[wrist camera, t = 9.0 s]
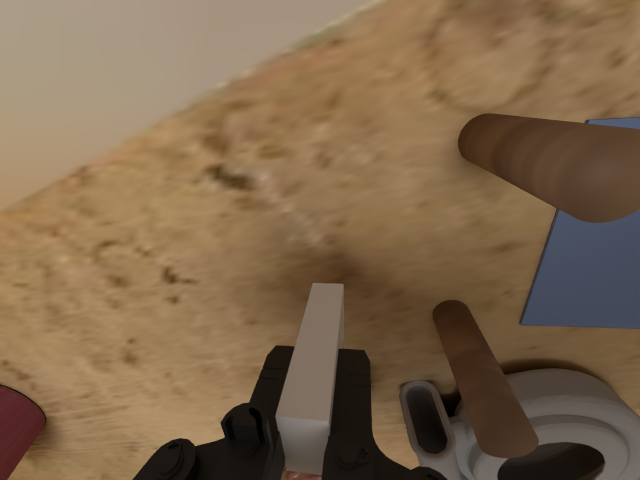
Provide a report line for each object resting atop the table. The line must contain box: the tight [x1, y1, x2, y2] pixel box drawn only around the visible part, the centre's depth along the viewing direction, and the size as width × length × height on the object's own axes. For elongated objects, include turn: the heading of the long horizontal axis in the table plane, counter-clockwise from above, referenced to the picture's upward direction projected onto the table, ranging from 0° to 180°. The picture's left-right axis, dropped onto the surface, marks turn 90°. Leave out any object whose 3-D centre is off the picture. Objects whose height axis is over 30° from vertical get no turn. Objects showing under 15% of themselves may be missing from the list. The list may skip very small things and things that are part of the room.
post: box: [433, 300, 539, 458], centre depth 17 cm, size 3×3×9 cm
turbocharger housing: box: [399, 368, 640, 480], centre depth 24 cm, size 17×6×15 cm
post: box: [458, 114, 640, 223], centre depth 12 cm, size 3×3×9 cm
